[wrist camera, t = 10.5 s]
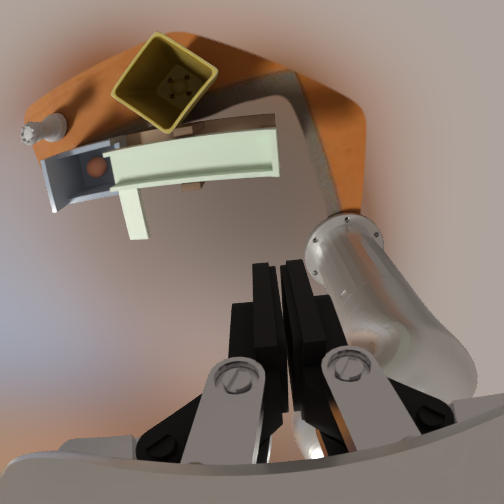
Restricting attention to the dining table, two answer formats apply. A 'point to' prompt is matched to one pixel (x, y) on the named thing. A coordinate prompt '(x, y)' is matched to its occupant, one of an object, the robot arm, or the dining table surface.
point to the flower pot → (164, 82)
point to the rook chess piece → (45, 129)
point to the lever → (189, 165)
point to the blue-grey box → (79, 173)
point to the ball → (96, 167)
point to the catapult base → (203, 128)
